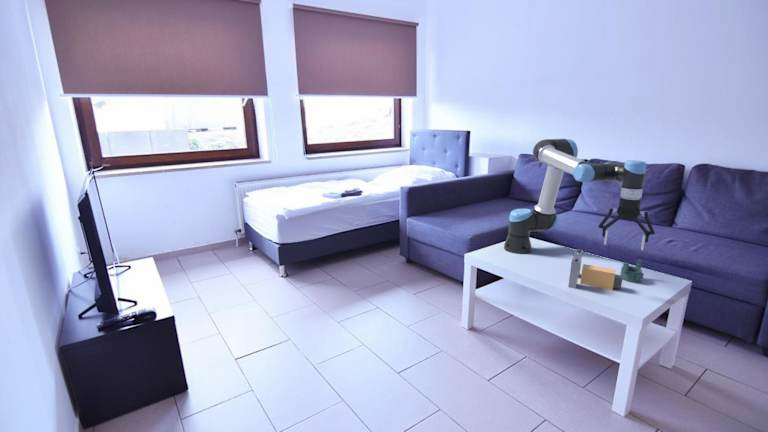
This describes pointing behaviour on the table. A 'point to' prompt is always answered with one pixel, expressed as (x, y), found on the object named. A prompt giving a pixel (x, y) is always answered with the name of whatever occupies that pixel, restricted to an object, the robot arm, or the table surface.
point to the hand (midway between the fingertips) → (623, 246)
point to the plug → (600, 277)
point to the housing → (575, 268)
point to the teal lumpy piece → (632, 272)
